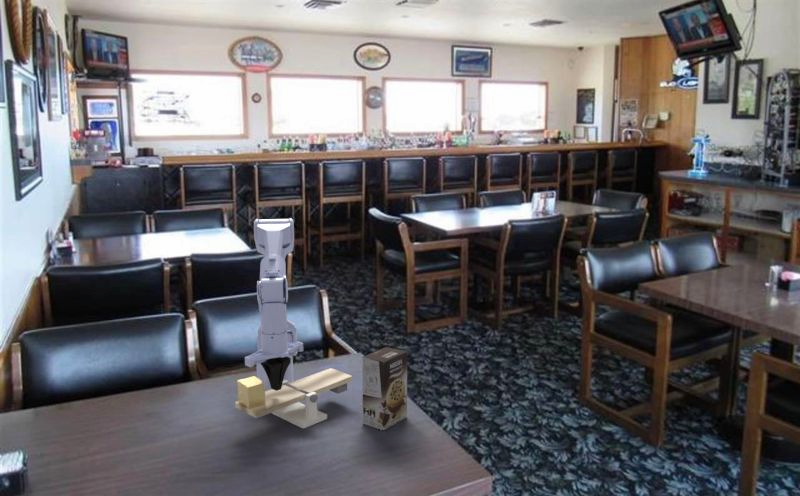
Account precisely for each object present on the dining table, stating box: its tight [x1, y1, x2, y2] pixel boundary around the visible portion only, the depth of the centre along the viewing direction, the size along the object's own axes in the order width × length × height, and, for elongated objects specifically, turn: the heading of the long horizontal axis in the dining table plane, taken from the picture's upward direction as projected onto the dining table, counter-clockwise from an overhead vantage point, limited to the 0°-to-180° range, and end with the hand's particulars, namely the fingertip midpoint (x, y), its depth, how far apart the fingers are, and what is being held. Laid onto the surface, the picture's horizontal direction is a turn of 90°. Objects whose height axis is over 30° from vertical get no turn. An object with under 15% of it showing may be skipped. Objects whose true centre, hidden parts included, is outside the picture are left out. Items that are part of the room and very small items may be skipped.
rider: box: [236, 375, 266, 409], centre depth 143 cm, size 5×5×4 cm
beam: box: [234, 367, 354, 419], centre depth 152 cm, size 8×28×4 cm, turn 137°
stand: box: [270, 380, 328, 429], centre depth 152 cm, size 13×7×7 cm, turn 47°
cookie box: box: [362, 346, 408, 431], centre depth 149 cm, size 9×6×16 cm
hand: (276, 388), depth 147 cm, fingers closed
